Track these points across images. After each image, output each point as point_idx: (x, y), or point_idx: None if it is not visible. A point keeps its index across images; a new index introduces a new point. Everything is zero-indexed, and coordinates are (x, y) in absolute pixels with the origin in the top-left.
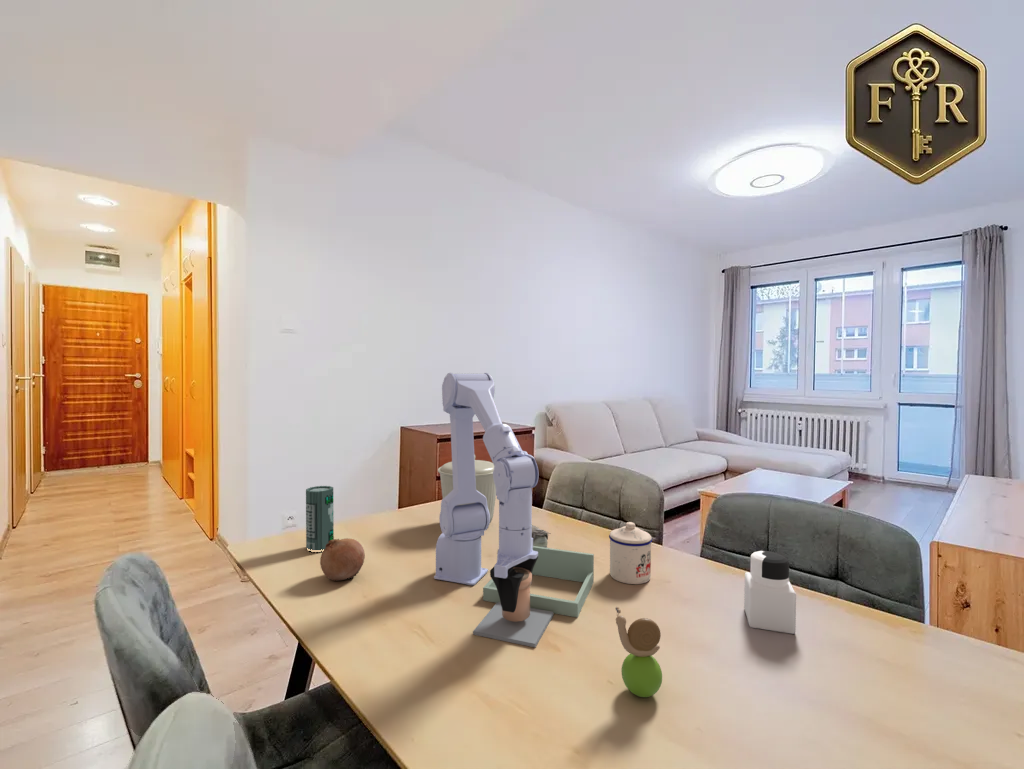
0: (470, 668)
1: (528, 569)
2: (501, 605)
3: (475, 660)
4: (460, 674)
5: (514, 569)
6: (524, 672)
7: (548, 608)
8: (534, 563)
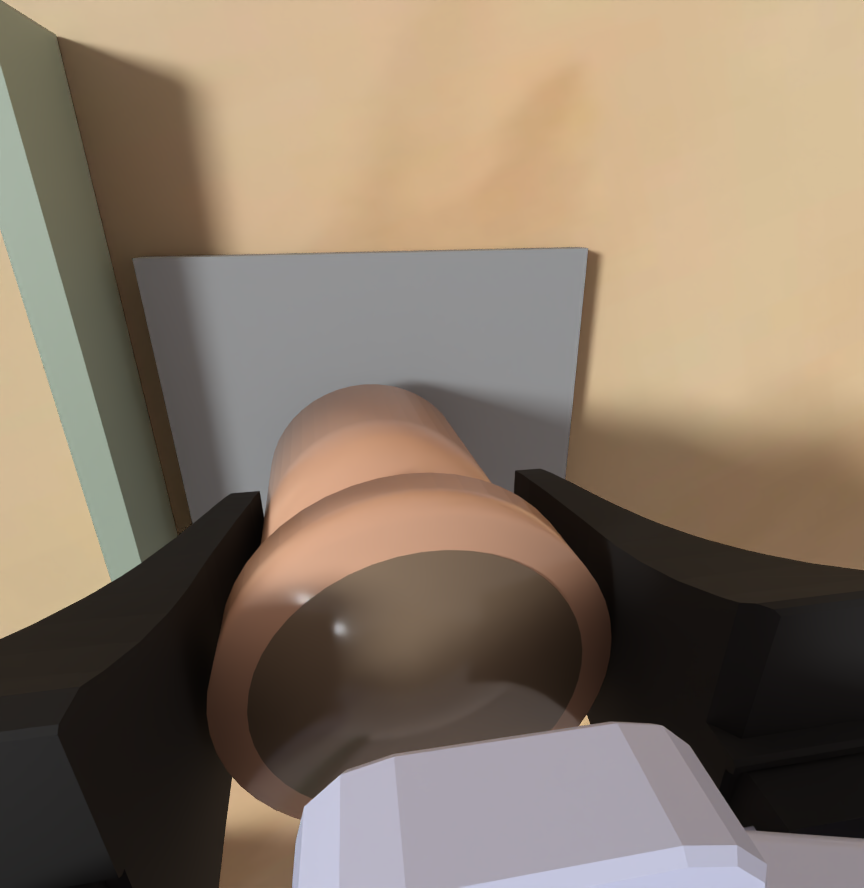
0: (790, 472)
1: (177, 643)
2: None
3: (735, 480)
4: (830, 487)
5: (299, 761)
6: (802, 228)
7: (109, 311)
8: (42, 654)
